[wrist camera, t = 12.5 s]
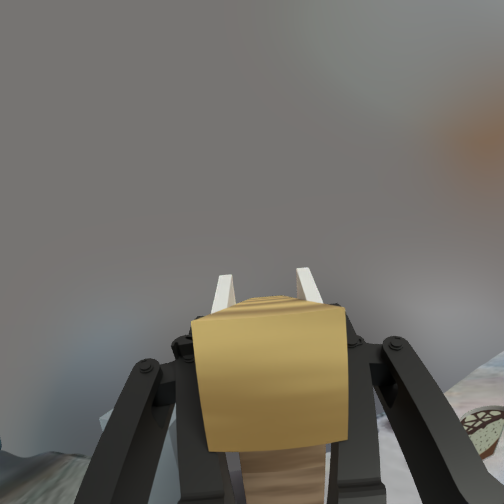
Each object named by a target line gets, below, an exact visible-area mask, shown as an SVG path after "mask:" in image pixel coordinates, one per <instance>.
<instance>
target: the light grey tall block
mask: <svg viewBox="0 0 504 504" xmlns="http://www.w3.org/2000/svg"><path fill="white" fill-rule="evenodd" d="M113 409H114V408H113ZM113 409H112V410H111V411H109V412H108V413H106V414H105V415H103V416H102V417H100V418H99V419H100V423H101V427H102V431H104V429H105V426H106V424H107V422H108V420H109V418H110V415H111V413H112V411H113ZM180 498H181V493H180V481H179V469H178V453H177V432H176V403H175V407H174V410H173V414H172V417H171V420H170V424H169V427H168V431H167V434H166V438H165V441H164V445H163V449H162V452H161V456H160V459H159V463H158V467H157V471H156V474H155V478H154V482H153V486H152V489H151V493H150V497H149V501H148V504H177V503H178V501H179V500H180Z"/></svg>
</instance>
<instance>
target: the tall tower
mask: <svg viewBox="0 0 504 504" xmlns="http://www.w3.org/2000/svg"><path fill="white" fill-rule="evenodd" d="M325 445H326V444H321V445H315V446H308V447H300V448H291V449H281V450H269V451H249V452H239V456H240V463H241V470H242V477H243V484H244V490H245V496H246V502H247V504H324V486H325V454H326V446H325Z"/></svg>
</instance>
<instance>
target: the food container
mask: <svg viewBox="0 0 504 504" xmlns="http://www.w3.org/2000/svg"><path fill="white" fill-rule="evenodd" d="M460 422H461V423H462V425H463V427H464V429H465V430H466V432H467V434H468V435H469V437H470V439H471V441H472V443H473V444H474V446H475V448H476V450H477V452H478V453H479V455H480V457H481V459H482V461H484V460H486V459H487V458H489V457H491V456H493V455H494V453H495V450H496V448H497V445H498V442H499V440H500V437H501V434H502V431H503V428H504V406H483V407H479V408H476V409H473V410H471V411H469V412H467V413H466V414H464V415H463V416H462V417H461V419H460Z"/></svg>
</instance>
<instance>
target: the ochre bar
mask: <svg viewBox="0 0 504 504" xmlns="http://www.w3.org/2000/svg"><path fill="white" fill-rule="evenodd" d="M191 327H192V337H193V347H194V355H195V364H196V372H197V380H198V387H199V394H200V401H201V408H202V414H203V421H204V427H205V433H206V438H207V444H208V449H209V452H249V451H269V450H281V449H291V448H300V447H308V446H315V445H321V444H327V443H333V442H338V441H343V440H348V353H347V333H346V317H345V308H344V307H339V306H333V305H328V304H323V303H317V302H312V301H306V300H301V299H297V298H292V297H287V296H282V295H281V296H270V297H259V298H250V299H248V300H246V301H243V302H240V303H238V304H235V305H233V306H230V307H228V308H225V309H222V310H220V311H217V312H215V313H212V314H209V315H207V316H204V317H202V318H199V319H196V320H194V321H192V322H191Z"/></svg>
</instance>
